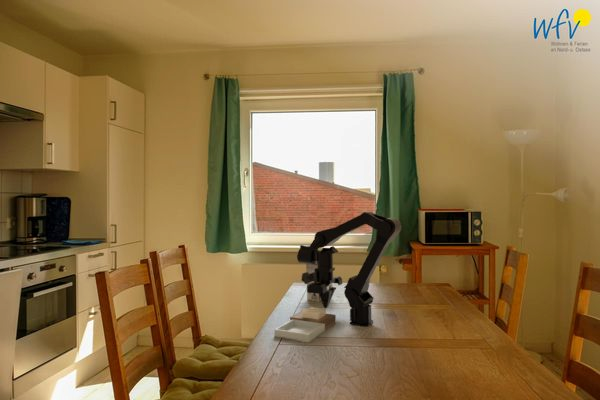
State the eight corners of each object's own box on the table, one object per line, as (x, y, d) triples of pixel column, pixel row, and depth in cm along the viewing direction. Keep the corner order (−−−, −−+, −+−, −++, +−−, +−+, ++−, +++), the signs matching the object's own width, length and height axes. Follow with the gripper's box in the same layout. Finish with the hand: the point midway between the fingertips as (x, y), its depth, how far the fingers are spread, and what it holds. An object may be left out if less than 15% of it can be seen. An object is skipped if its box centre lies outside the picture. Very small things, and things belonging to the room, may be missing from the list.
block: (325, 314, 146) (325, 309, 146) (318, 319, 140) (318, 313, 140) (310, 312, 148) (310, 307, 148) (302, 317, 143) (302, 311, 143)
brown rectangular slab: (335, 323, 146) (335, 314, 146) (324, 331, 138) (324, 321, 138) (302, 318, 152) (302, 310, 152) (290, 325, 144) (290, 317, 144)
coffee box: (318, 295, 186) (318, 259, 186) (330, 297, 182) (330, 260, 182) (306, 300, 179) (306, 262, 179) (318, 302, 175) (318, 263, 175)
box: (324, 331, 138) (324, 323, 138) (308, 342, 127) (308, 334, 127) (292, 326, 143) (292, 319, 143) (274, 336, 133) (274, 329, 132)
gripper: (316, 260, 165) (316, 299, 165) (293, 267, 148) (293, 311, 148) (342, 261, 159) (343, 302, 160) (321, 269, 143) (322, 315, 143)
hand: (325, 307), depth 153 cm, fingers closed
